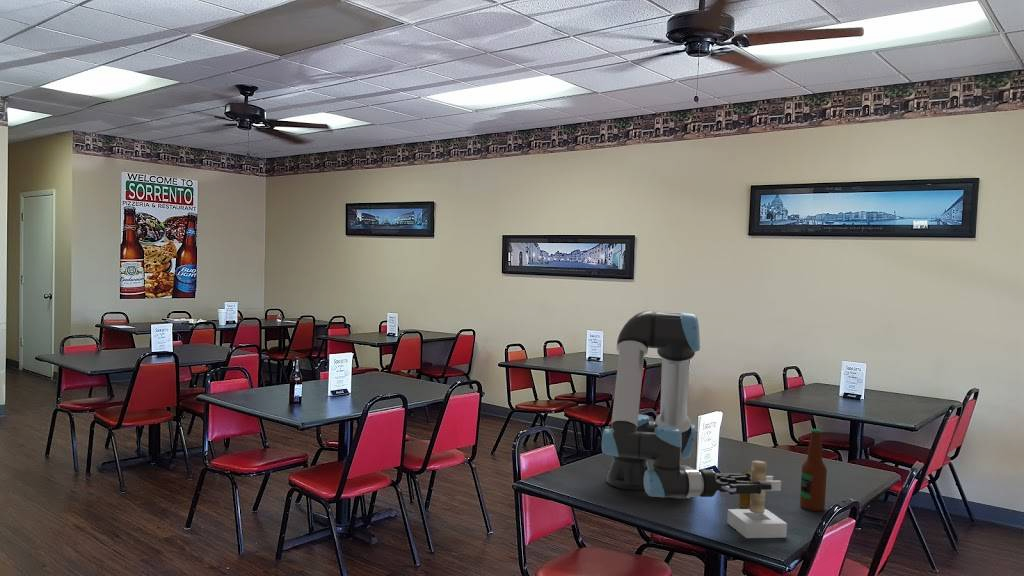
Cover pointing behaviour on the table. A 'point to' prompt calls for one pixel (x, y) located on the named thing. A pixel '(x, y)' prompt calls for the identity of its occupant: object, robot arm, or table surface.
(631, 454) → the robot arm
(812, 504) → the bottle
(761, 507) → the dowel
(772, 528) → the socket
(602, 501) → the table surface
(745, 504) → the condiment
